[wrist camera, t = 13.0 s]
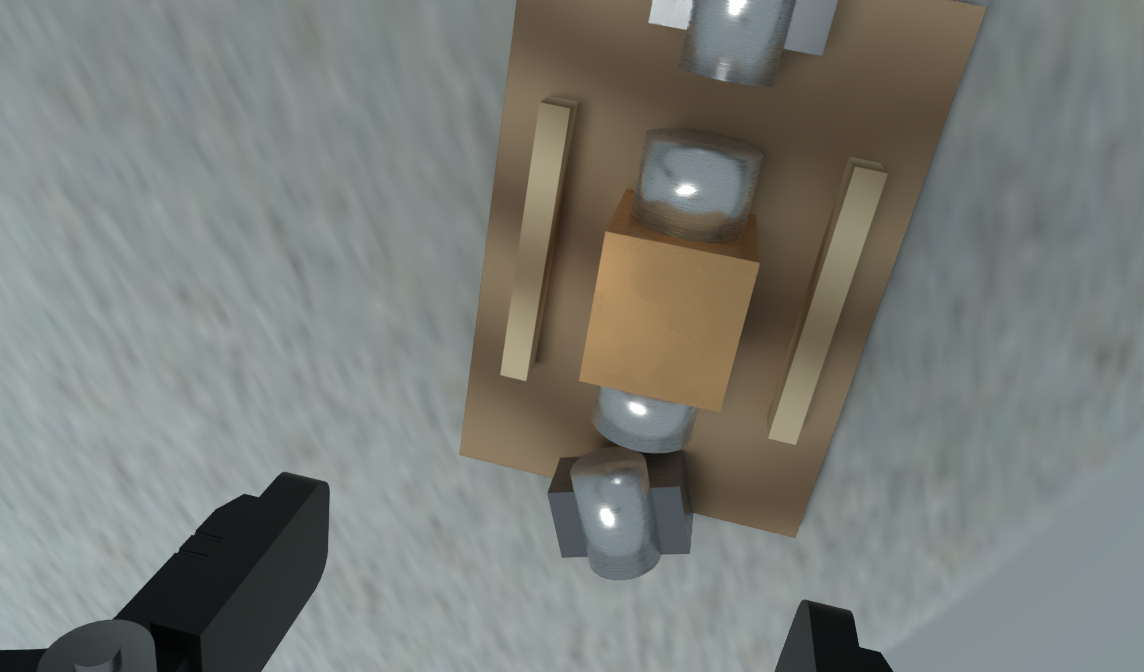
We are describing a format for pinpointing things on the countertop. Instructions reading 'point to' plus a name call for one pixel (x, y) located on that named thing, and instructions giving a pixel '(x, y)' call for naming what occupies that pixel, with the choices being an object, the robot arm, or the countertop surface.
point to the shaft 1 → (622, 509)
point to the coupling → (673, 289)
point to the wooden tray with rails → (781, 204)
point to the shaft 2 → (744, 34)
